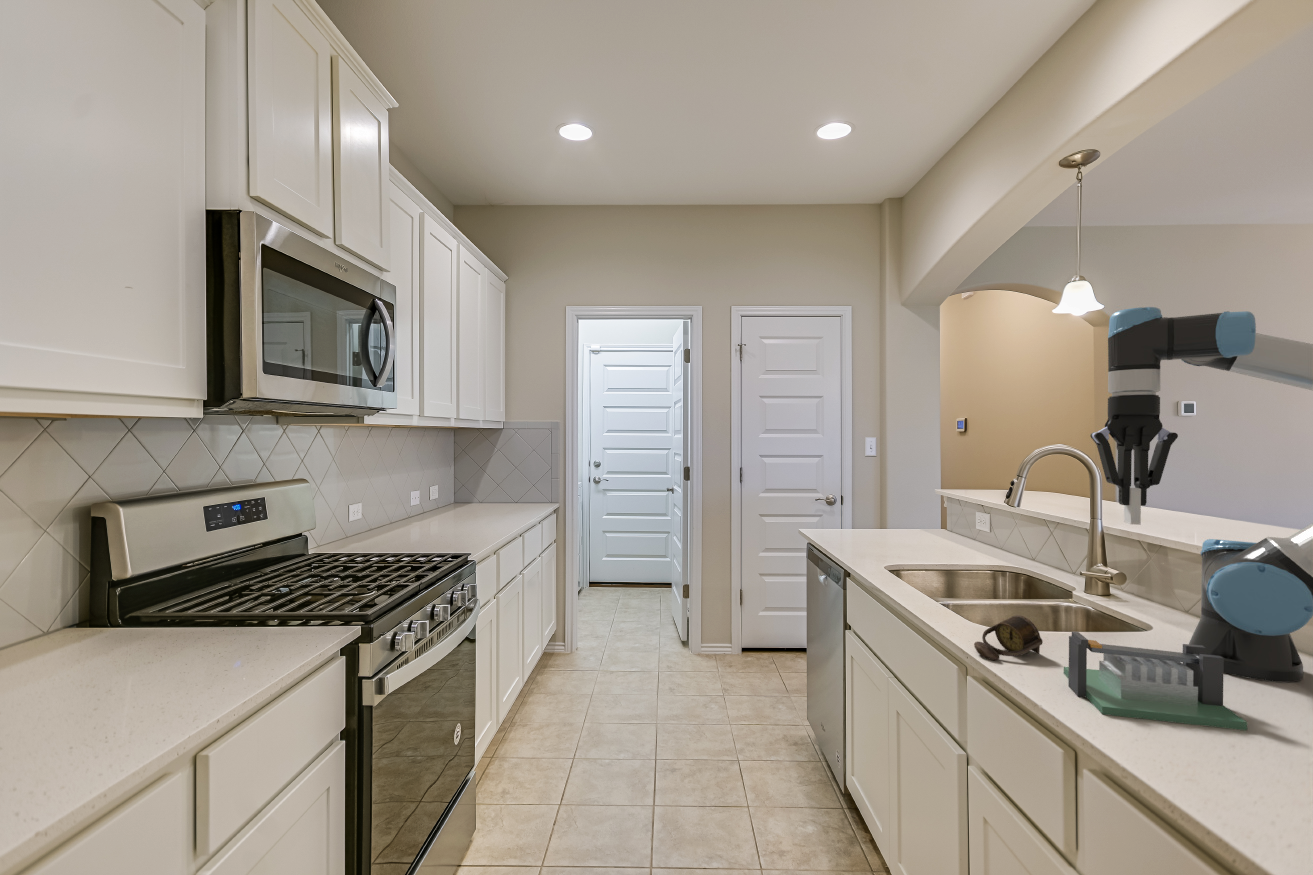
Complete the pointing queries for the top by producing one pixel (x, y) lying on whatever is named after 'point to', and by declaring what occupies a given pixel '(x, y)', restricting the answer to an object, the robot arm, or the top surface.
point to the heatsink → (1149, 679)
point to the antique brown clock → (1011, 638)
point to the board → (1157, 707)
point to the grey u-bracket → (1207, 675)
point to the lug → (1078, 663)
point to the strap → (1142, 652)
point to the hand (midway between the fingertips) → (1132, 523)
